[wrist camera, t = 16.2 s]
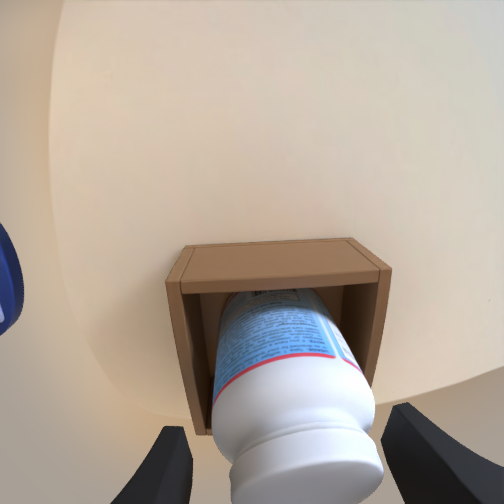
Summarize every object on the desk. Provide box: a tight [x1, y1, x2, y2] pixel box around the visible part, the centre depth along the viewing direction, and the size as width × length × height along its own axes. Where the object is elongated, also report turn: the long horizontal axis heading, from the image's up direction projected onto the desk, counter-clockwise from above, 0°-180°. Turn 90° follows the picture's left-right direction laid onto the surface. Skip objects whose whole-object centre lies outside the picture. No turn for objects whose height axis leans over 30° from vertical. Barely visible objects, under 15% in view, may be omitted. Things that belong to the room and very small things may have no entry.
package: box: [165, 238, 392, 435], centre depth 16 cm, size 9×9×5 cm
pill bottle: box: [212, 288, 384, 504], centre depth 12 cm, size 6×6×11 cm
